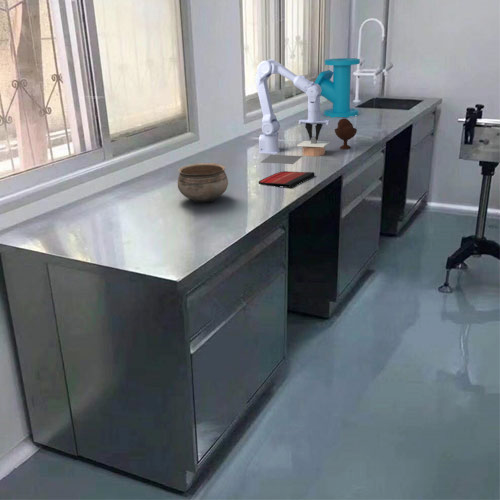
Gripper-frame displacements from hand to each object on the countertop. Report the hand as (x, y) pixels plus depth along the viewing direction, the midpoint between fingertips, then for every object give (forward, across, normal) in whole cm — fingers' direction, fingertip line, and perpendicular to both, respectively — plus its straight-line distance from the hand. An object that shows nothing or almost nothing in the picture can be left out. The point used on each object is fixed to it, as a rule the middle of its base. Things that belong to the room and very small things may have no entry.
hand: (313, 139), depth 281 cm
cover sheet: (+2, 0, 0) cm, 2 cm away
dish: (+7, 0, 0) cm, 7 cm away
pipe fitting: (+8, -16, +117) cm, 118 cm away
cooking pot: (+8, -22, -81) cm, 84 cm away
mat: (+7, -12, -14) cm, 20 cm away
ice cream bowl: (+8, +12, +17) cm, 22 cm away
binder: (+8, 0, -47) cm, 48 cm away
